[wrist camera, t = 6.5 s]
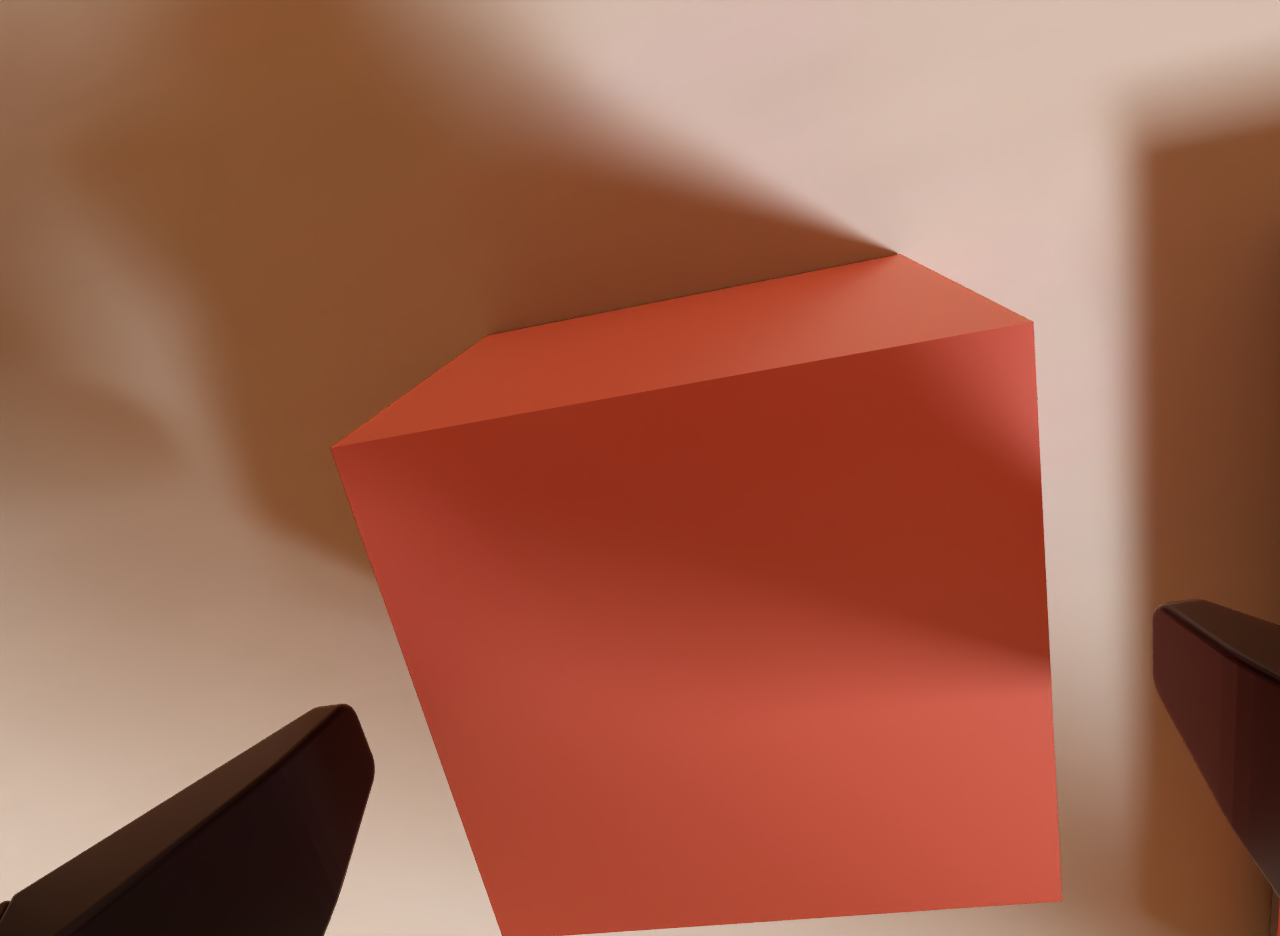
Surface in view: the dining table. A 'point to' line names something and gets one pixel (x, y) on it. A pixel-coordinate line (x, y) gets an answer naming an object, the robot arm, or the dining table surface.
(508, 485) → the cap
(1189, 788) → the dining table surface
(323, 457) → the dining table surface
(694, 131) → the dining table surface
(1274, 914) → the switch box
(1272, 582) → the dining table surface
